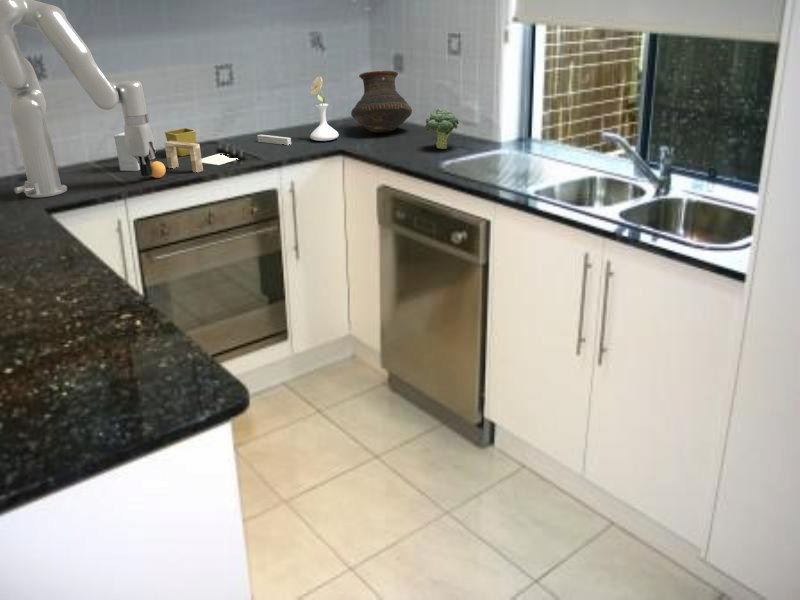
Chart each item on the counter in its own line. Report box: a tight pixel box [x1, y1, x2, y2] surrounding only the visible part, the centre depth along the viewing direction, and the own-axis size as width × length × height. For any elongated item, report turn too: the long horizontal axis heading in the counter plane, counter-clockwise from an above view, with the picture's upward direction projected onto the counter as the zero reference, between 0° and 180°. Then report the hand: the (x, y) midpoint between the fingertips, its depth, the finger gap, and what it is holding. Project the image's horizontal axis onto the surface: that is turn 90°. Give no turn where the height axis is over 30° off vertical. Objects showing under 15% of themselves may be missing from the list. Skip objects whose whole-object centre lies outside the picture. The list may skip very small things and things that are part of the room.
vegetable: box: [425, 107, 460, 150], centre depth 285 cm, size 12×13×15 cm
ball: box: [150, 160, 167, 179], centre depth 265 cm, size 6×6×6 cm
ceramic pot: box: [350, 70, 413, 134], centre depth 314 cm, size 24×24×22 cm
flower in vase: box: [309, 76, 340, 142], centre depth 305 cm, size 13×11×25 cm
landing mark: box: [201, 153, 239, 166], centre depth 287 cm, size 13×13×1 cm
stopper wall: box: [256, 134, 292, 146], centre depth 309 cm, size 2×16×2 cm, turn 56°
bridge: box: [163, 140, 204, 173], centre depth 273 cm, size 3×15×9 cm, turn 56°
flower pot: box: [164, 127, 197, 157], centre depth 295 cm, size 9×9×9 cm
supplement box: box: [113, 131, 141, 172], centre depth 277 cm, size 7×7×13 cm
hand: (147, 175), depth 262 cm, fingers closed
